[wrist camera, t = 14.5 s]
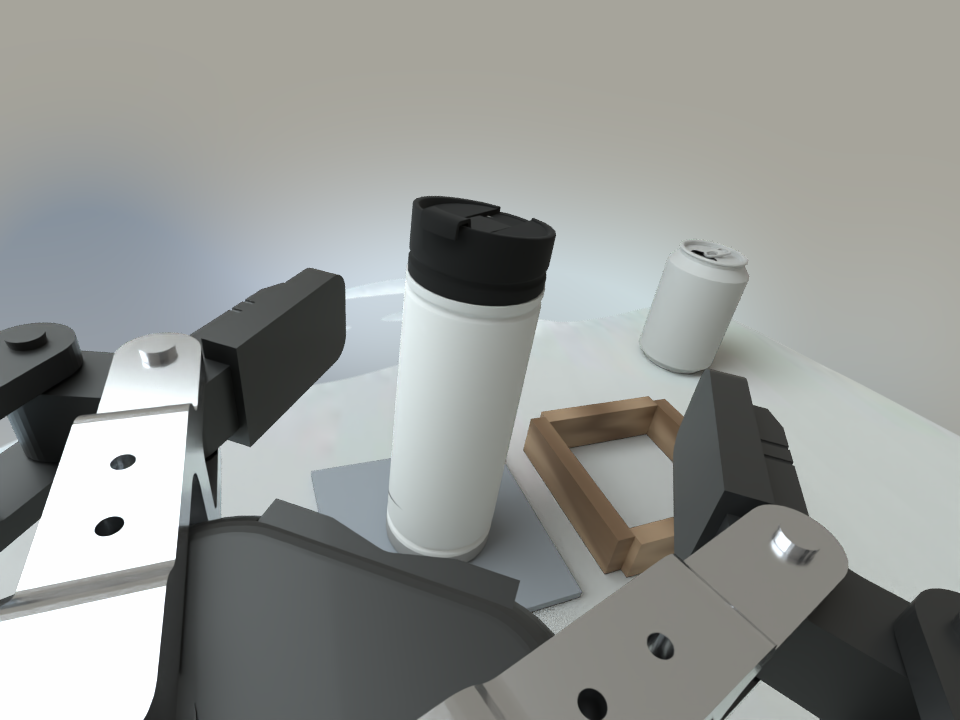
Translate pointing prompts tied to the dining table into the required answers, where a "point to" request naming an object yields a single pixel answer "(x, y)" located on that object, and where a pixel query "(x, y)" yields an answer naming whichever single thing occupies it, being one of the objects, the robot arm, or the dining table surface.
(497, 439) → the travel mug
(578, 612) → the dining table surface
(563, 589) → the rubber mat
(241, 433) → the robot arm
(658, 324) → the can
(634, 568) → the frame
